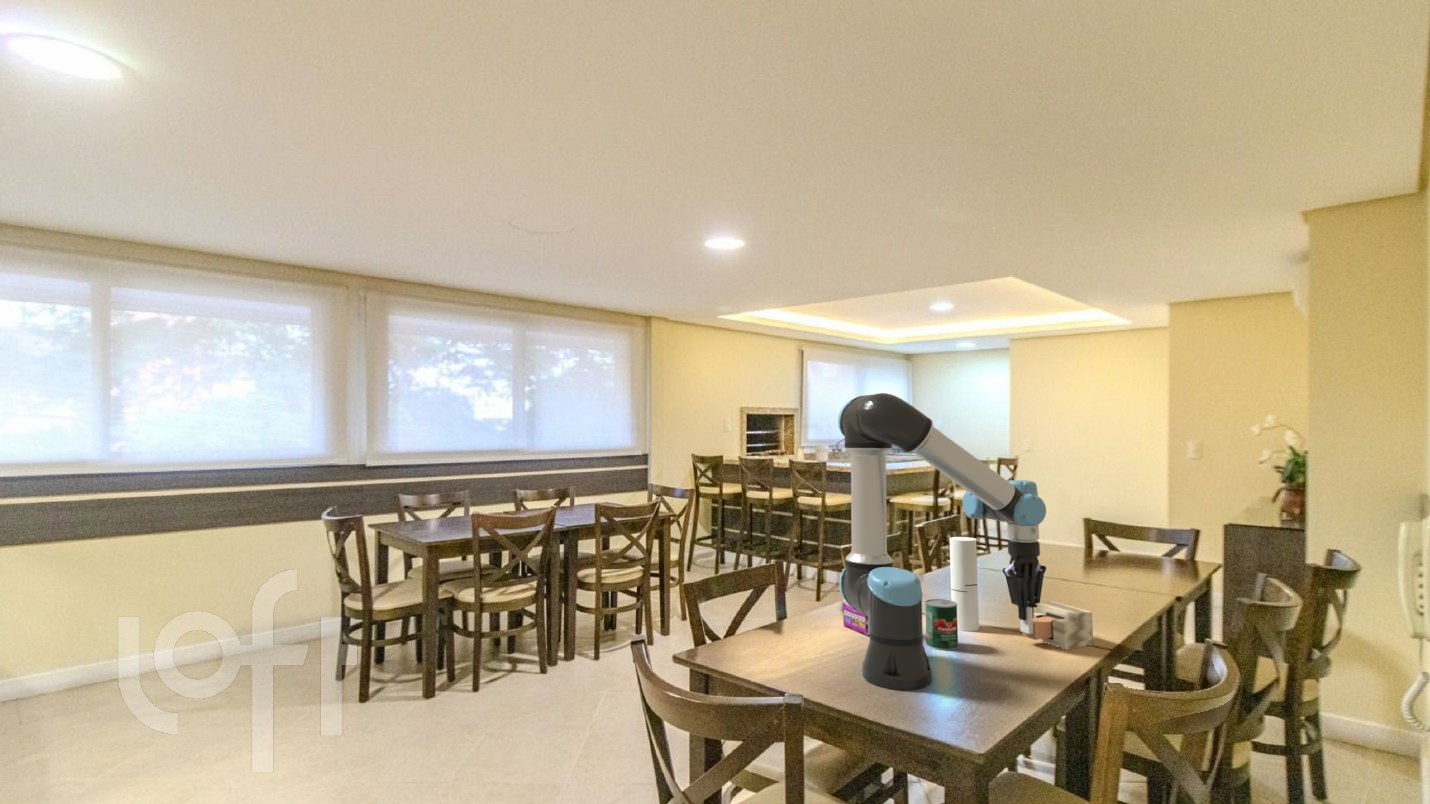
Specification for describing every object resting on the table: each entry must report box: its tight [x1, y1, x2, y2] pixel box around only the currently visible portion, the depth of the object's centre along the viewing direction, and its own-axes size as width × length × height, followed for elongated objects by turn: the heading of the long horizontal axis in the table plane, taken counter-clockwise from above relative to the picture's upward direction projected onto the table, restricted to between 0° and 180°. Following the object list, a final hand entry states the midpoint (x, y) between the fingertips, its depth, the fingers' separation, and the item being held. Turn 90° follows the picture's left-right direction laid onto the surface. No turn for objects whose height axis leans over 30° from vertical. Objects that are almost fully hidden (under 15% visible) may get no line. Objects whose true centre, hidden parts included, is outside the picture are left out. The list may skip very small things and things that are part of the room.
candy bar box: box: [842, 568, 870, 636], centre depth 184 cm, size 11×5×16 cm, turn 25°
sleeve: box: [1034, 601, 1094, 650], centre depth 172 cm, size 10×12×8 cm
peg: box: [1022, 616, 1060, 641], centre depth 170 cm, size 10×4×4 cm, turn 112°
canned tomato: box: [924, 598, 959, 651], centre depth 169 cm, size 8×8×11 cm
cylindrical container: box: [949, 536, 980, 632], centre depth 185 cm, size 7×7×25 cm
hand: (1026, 632), depth 168 cm, fingers closed
